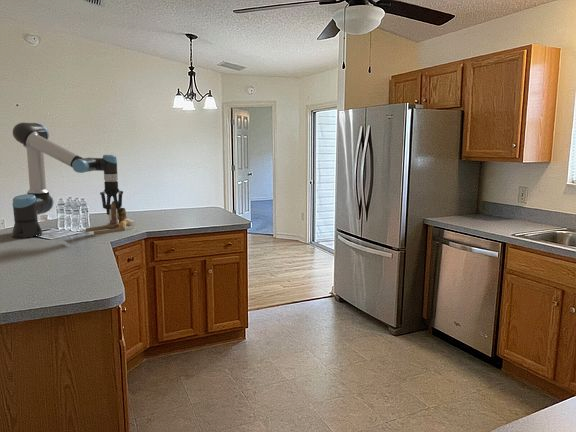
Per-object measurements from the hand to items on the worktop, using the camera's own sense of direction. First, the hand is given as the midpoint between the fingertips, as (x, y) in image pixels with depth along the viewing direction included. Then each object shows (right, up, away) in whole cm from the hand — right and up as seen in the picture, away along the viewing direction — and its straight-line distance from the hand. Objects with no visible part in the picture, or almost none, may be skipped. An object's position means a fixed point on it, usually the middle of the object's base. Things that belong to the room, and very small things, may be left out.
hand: (113, 219), depth 268 cm
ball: (+5, -3, +5) cm, 8 cm away
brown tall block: (0, -7, +1) cm, 7 cm away
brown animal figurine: (-4, -5, +21) cm, 22 cm away
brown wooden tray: (-1, -8, 0) cm, 8 cm away
